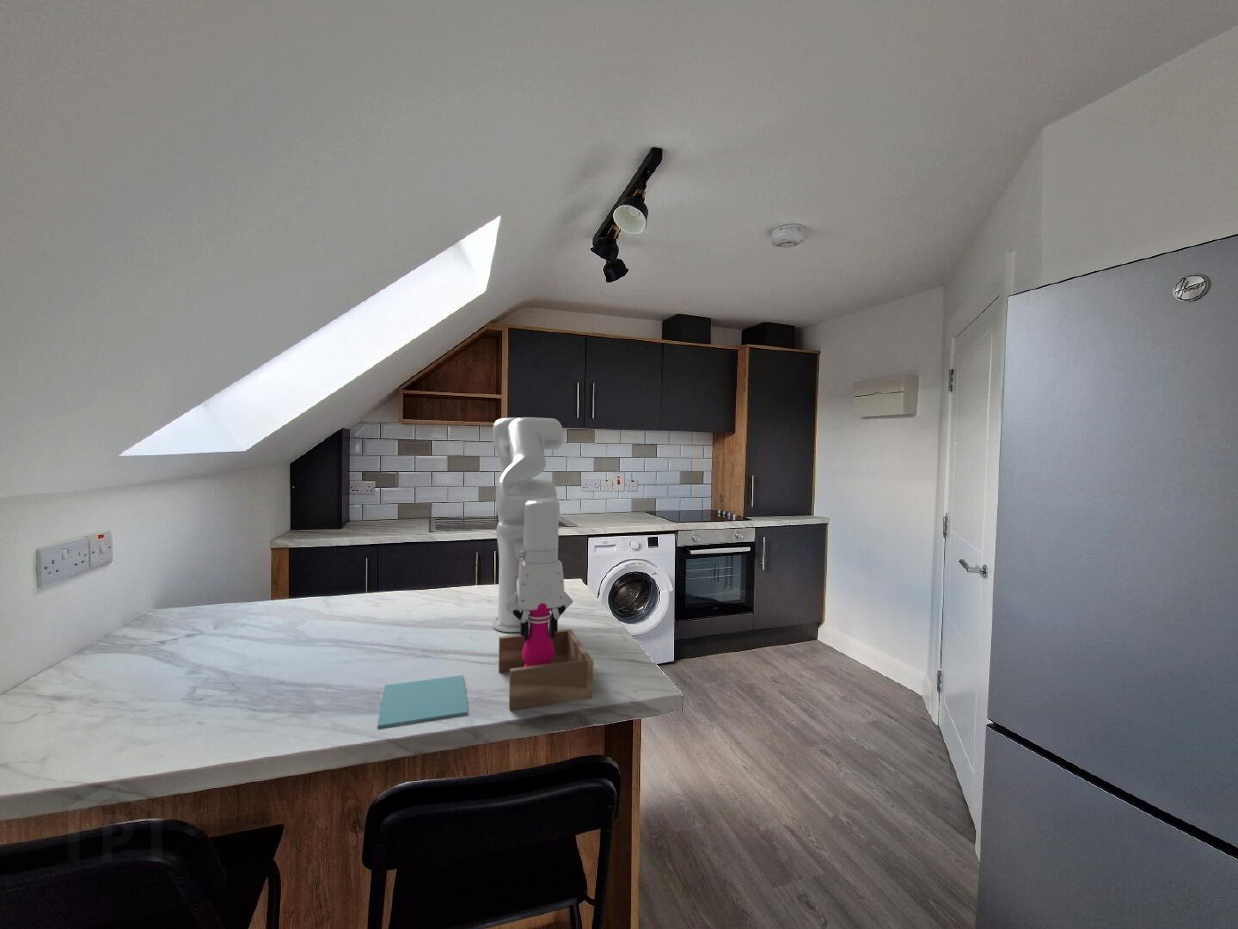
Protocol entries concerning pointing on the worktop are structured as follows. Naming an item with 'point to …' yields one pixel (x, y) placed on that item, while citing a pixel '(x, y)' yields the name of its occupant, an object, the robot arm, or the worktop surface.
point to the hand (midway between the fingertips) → (538, 636)
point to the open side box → (547, 672)
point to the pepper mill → (538, 638)
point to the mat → (422, 701)
